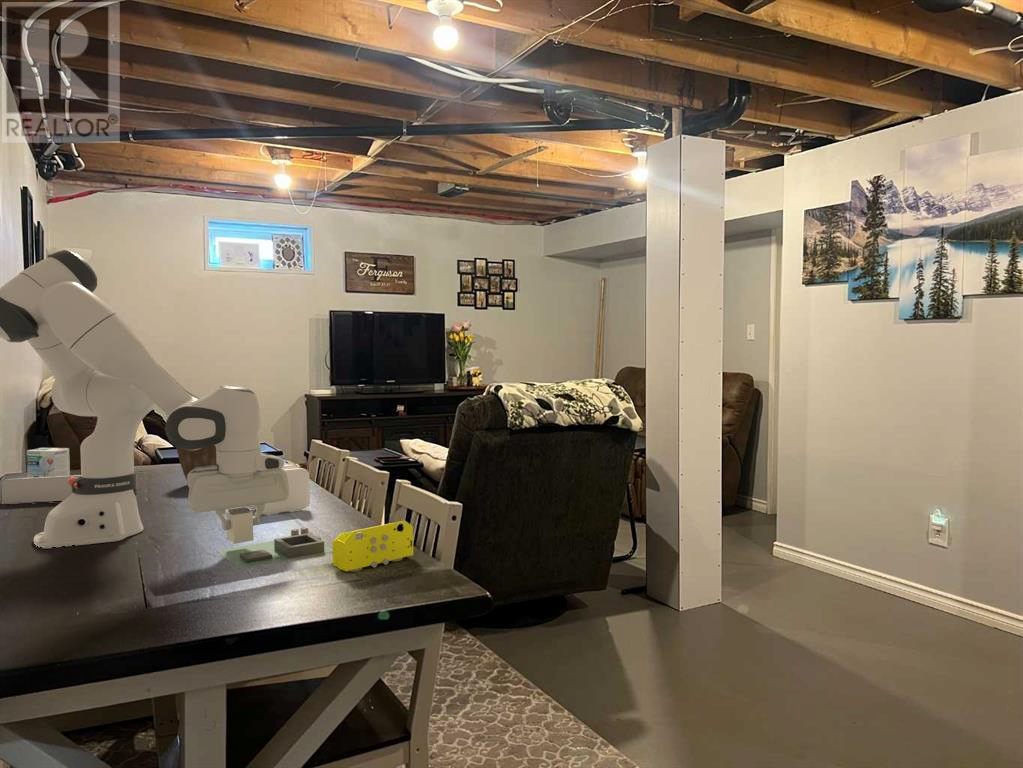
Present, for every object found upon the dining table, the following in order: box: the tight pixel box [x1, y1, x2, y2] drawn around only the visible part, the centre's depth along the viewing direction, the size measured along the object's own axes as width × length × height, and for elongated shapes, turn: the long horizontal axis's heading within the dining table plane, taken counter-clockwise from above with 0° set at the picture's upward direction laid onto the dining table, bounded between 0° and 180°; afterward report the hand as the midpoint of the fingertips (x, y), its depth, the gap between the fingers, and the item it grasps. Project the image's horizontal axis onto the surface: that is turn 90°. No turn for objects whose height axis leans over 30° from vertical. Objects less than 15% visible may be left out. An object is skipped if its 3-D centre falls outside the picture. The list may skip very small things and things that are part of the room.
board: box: [215, 527, 333, 570], centre depth 155 cm, size 20×16×4 cm
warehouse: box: [0, 474, 81, 505], centre depth 218 cm, size 30×14×8 cm, turn 106°
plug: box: [225, 506, 254, 545], centre depth 156 cm, size 4×5×7 cm
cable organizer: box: [245, 464, 311, 516], centre depth 199 cm, size 15×11×12 cm
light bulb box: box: [26, 447, 71, 478], centre depth 243 cm, size 11×7×11 cm, turn 81°
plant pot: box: [175, 445, 217, 481], centre depth 236 cm, size 15×15×16 cm
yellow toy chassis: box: [332, 520, 414, 573], centre depth 150 cm, size 16×6×8 cm, turn 133°
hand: (240, 527), depth 156 cm, fingers closed on plug, 4 cm apart
